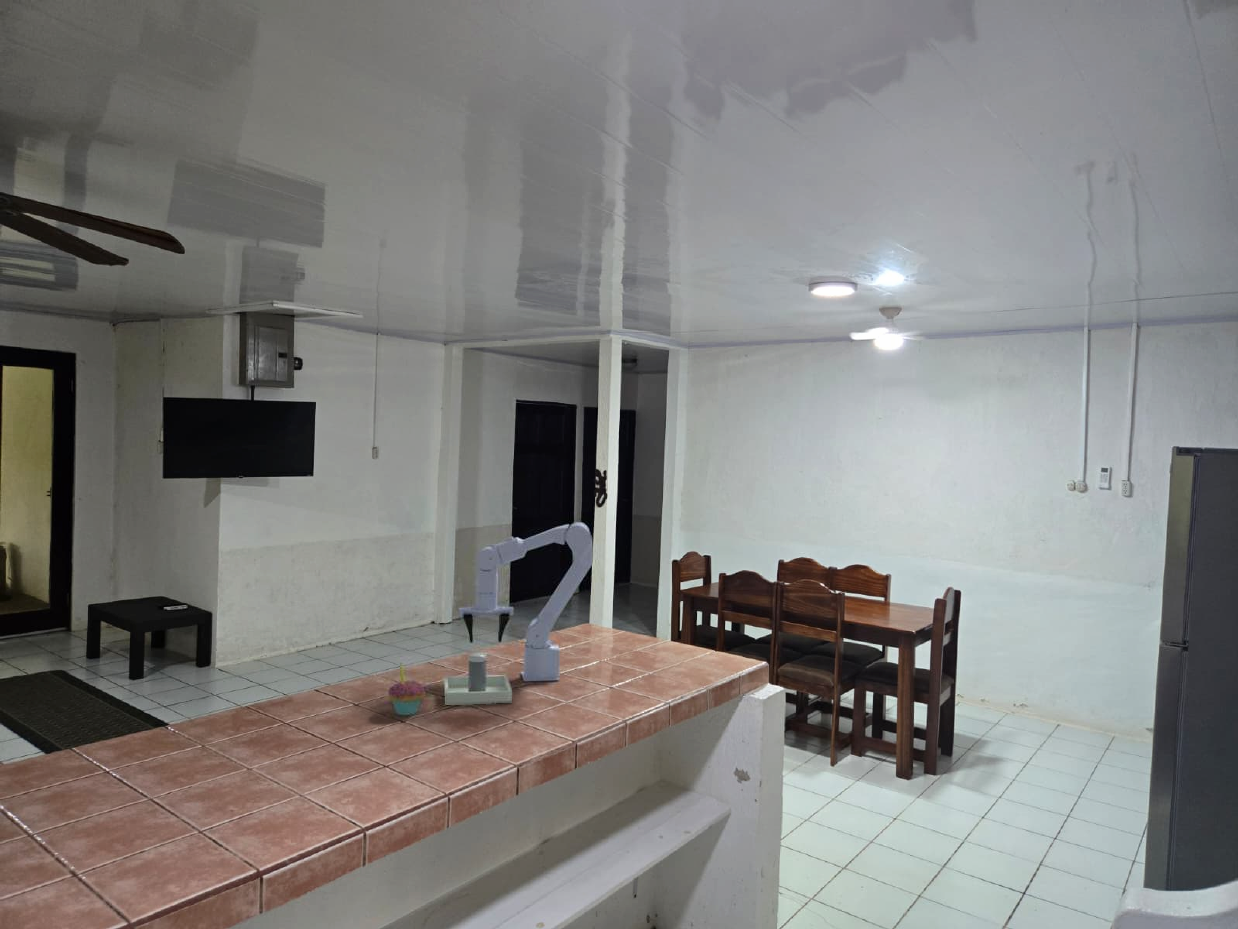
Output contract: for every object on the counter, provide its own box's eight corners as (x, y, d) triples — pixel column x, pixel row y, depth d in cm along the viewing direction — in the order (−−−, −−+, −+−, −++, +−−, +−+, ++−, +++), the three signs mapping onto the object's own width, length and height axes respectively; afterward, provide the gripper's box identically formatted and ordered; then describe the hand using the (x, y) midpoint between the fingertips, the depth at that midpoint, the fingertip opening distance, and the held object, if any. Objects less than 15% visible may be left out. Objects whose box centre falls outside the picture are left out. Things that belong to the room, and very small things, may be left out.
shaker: (485, 690, 209) (486, 652, 209) (486, 695, 205) (487, 657, 204) (467, 690, 208) (468, 653, 208) (468, 696, 204) (468, 657, 203)
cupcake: (402, 720, 187) (404, 668, 186) (379, 712, 192) (381, 661, 191) (432, 711, 193) (434, 661, 193) (409, 703, 199) (410, 654, 198)
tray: (506, 686, 215) (506, 674, 215) (511, 703, 201) (512, 691, 201) (443, 688, 211) (444, 676, 211) (445, 706, 198) (445, 693, 198)
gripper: (460, 595, 217) (458, 645, 218) (515, 594, 221) (513, 644, 221) (459, 589, 224) (457, 639, 224) (512, 589, 227) (511, 638, 228)
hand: (485, 641), depth 223 cm, fingers open, 7 cm apart
